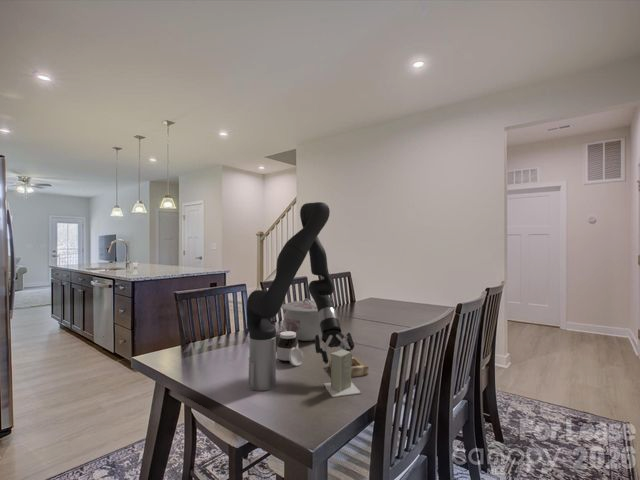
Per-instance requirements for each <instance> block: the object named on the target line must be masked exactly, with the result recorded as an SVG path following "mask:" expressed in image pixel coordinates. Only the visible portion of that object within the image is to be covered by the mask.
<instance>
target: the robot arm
mask: <svg viewBox="0 0 640 480" xmlns="http://www.w3.org/2000/svg"><path fill="white" fill-rule="evenodd" d="M330 211H331V210H330V208H329V205H328V204H327V203H325V202H319V201H316V202H305V203H304V204H302V205H301V207H300V211H299V216H300V221H301V225H302V229H300V230H299V231H298V232H296V233H295V234H294V235H293V236H291V237H290V238H289V239H288V240H287V241H286V243H284V245H283V247H282V249H281V251H280V252H279V253H278V256H277V260H276V268H275V269H276V272H275V277H274V279H273V281H272V283H271V285H270V286H269V288H268V289H267V290H262V289H256V290H254V291H252V292H250V294H249V295H248V297H247V300H246V305H245V306H246V309H245V310H246V327H247V331H248V334H249V336H248V337H249V341H248V342H249V347H248V348H249V349H248V350H249V352H248V353H249V354H248V356H249V357H248V388H249V391H258V392H259V391H261V392H263V391H269V390H271V389H274V388H275V387H276V386H277V385H276V383H277V378H276V377H277V375H276V373H277V370H276V369H277V364H276V363H277V330H276V327H275V326H274V325H273V323H272V322H271V321H270V319H273V318H275V317H276V316H277V314H278V313H279V312H280V311H281V309H282V308H281V306H282V305H283V304H284V301H285V299H286V295H287V294H288V292H289V290H290V287H291V285H292V283H293V281H294V279H295V277H296V275H297V274H298V271H299V269H300V268H301V266H302V265H303V262H304V260H305V258H306V257H307V255H308V254H309V263H310V272H311V274H312V275H314V276H320V277H323V278H322V279H316V280H315V279H314V280H312V281H310V282H309V283H308V292H309V294H310V296H311V297H312V299H313V301H315V303H316V306H317V310H318V316H319V324H320V328H321V332H322V336H318V335H316V336H315V339H314V340H313V341H314V346H315V352H316V354H321V358H322V362H323V363H324V365H327V364H329V357H328V353H327V349H328V348H338V347H339V348H340V349H343V350H346V351H350V352H351V359H352V357H353V354H352V351H353V350H354V348H355V343H354V340H353V338H352V337H353V336H352V333H350V332H347V333H346V334H345V333H344V334H343V332H342V327H341V325H340V324H341V323H340V321H339V317H338V313H337V311H336V307H335V303H334V302H335V301H334V299H333V298H332V297H330V296H331V295H333V294H334V291H335V285H334V283H333V281H332V278H331V276H330V272H329V269H328V259H327V253H326V250H325V248H324V246H323V245H322V242H321V240H320V238H319V236H318V235H319V234H320V232H321V231H322V230H323V228H324V227H325V225H326V224H327V222H328V221H329V217H330ZM344 339H345V340H344ZM321 341H322V342H323V343H324V345H323V346H322V347H321ZM346 341H347V342H346Z"/></svg>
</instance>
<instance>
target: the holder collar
mask: <svg viewBox="0 0 640 480" xmlns="http://www.w3.org/2000/svg"><path fill="white" fill-rule="evenodd" d="M328 367H329V369H331V358H328ZM366 375H367V376H368V375H369V366H368V365H367V364H366V363H365V362H364V361H362V359H360V358H359V357H358V356H357V355H354V356H352V359H351V378H352V377H359V376H366Z"/></svg>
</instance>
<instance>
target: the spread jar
mask: <svg viewBox="0 0 640 480" xmlns="http://www.w3.org/2000/svg"><path fill="white" fill-rule="evenodd" d="M276 360H277V361H278V362H279V363H282V364H286V365H287V364H291V365H292V366H295V367H296V366H300V365H302V363H303V362H304V353H303V350H302V349H300V348H299V340H297V338H296V333H295V332H292V331H287V330H286V331H281V332H280V333H279V339H278V341H277V344H276Z"/></svg>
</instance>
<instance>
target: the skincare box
mask: <svg viewBox="0 0 640 480" xmlns="http://www.w3.org/2000/svg"><path fill="white" fill-rule="evenodd" d="M351 354H352V351H351V352H350V351H346V350H344V349H342V348H340V349H339V350H336V351H333V352H332V353H330V359H331V368H330V383H331V388H332V389H334V390H337V391H339V392H341V391H343V390H345V389H347V388H349V387H351V382H352V377H351Z"/></svg>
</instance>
